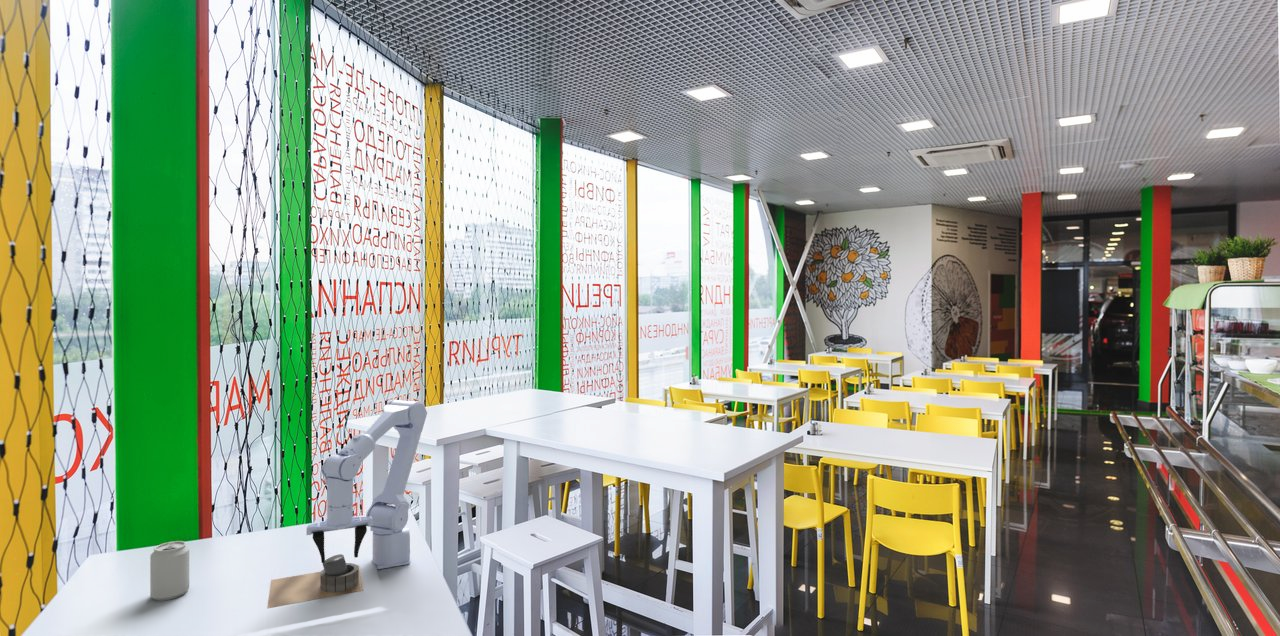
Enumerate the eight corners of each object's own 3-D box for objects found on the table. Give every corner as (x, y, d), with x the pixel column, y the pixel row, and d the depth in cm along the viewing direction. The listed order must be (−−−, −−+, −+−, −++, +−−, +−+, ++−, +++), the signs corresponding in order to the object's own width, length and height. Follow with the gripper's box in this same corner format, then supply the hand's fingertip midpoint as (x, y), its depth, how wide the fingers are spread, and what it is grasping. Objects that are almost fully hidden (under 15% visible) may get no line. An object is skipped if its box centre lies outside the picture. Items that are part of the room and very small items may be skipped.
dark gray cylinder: (349, 573, 156) (343, 552, 155) (350, 581, 151) (344, 559, 151) (329, 582, 154) (322, 560, 153) (329, 590, 149) (322, 568, 148)
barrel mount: (358, 568, 164) (359, 552, 164) (363, 594, 150) (363, 575, 150) (271, 583, 154) (271, 566, 154) (267, 612, 140) (267, 592, 140)
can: (146, 604, 143) (146, 553, 143) (154, 591, 150) (154, 542, 149) (186, 598, 146) (186, 547, 146) (192, 585, 153) (192, 537, 153)
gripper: (306, 513, 145) (306, 570, 145) (373, 504, 152) (373, 559, 152) (306, 504, 151) (306, 559, 152) (371, 496, 158) (370, 549, 159)
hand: (339, 558), depth 152 cm, fingers open, 7 cm apart
